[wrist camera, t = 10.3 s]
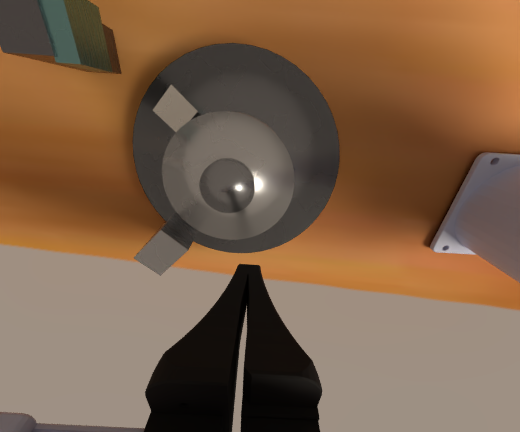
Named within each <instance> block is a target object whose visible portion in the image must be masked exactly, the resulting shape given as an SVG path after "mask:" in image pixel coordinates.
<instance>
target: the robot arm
mask: <svg viewBox="0 0 520 432" xmlns="http://www.w3.org/2000/svg"><path fill="white" fill-rule="evenodd" d="M492 159H493V161H492ZM491 161H492V162H491ZM430 248H431V249H432V250H433V251H434V252H440V253H459V254H477V255H478V256H480V257H481V258H483V259H485V260H486V261H488V262H489V263H491V264H492V265H494V266H495V267H497V268H498V269H500V270H501V271H503V272H504V273H506V274H507V275H509V276H510V277H512V278H513V279H515V280H516V281H518V282H519V283H520V154H506V153H490V152H485V153H482V154H480V155H479V156H478V157H477V158H476V159H475V161H474V163H473V165H472V167H471V169H470V171H469V173H468V174H467V176H466V178H465V180H464V182H463V184H462V186H461V188H460V190H459V192H458V194H457V195H456V197H455V199H454V201H453V203H452V205H451V207H450V209H449V211H448V213H447V215H446V216H445V218H444V220H443V222H442V224H441V226H440V228H439V230H438V232H437V234H436V236H435V238H434V239H433V241H432V243H431V245H430ZM246 306H247V338H246V349H245V361H244V377H243V379H244V380H243V398H242V411H241V432H320V429H319V423H318V420H319V413H318V408H317V406H318V403H319V400H320V398H321V395H322V387H321V383H320V380H319V377H318V374H317V371H316V369H315V366H314V364H313V361H312V360H311V359H310V357H309V356H308V355H307V354H306V353H305V352H304V350H303V349H302V348H301V347H300V345H299V344H298V343H297V342H296V340H295V339H294V338H293V336H292V335H291V334H290V332H289V330H288V329H287V328H286V326H285V325H284V323H283V321H282V320H281V318H280V317H279V315H278V313H277V311H276V309H275V307H274V305H273V303H272V301H271V299H270V297H269V295H268V292H267V289H266V287H265V284H264V281H263V278H262V274H261V268H260V266H259V265H247V264H239V265H238V267H237V269H236V272H235V274H234V276H233V277H232V279H231V281H230V283H229V284H228V286H227V288H226V290H225V291H224V292H223V294H222V295H221V297H220V298H219V300H218V301H217V302H216V303H215V305H214V306H213V307H212V308H211V309H210V311H209V312H208V313H207V314H206V315H205V317H203V319H202V320H201V321H200V322H199V323H198V324H197V325H196V326H195V327H194V328H193V329H192V330H190V331H189V332H188V333H187V334H186V335H185V336H184V337H183V338H182V339H181V340H179V341H178V342H177V343H176V344H175V345H173V346H172V347H171V348H170V349H169V350H167V351H166V352H165V353H164V354H163V356H162V358H161V359H160V361H159V363H158V365H157V366H156V368H155V370H154V372H153V374H152V377H151V379H150V381H149V384H148V386H147V389H146V391H145V395H146V398H147V401H148V403H149V406H150V408H151V413H150V416H149V419H148V422H147V424H146V427H145V429H144V428H124V427H103V426H81V425H61V424H41V423H36V420H35V419H34V418H33V417H32V416H30V415H28V414H23V413H8V412H0V432H232V424H233V412H234V400H235V390H236V379H237V367H238V358H239V347H240V340H241V334H242V328H243V323H244V317H245V312H246Z"/></svg>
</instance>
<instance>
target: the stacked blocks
mask: <svg viewBox="0 0 520 432" xmlns="http://www.w3.org/2000/svg"><path fill="white" fill-rule="evenodd" d="M0 46H1V49H2V51H3V52H4V53H8V54H13V55H17V56H21V57H26V58H30V59H34V60H39V61H43V62H48V63H52V64H56V65H61V66H65V67H69V68H74V69H78V70H82V71H87V72H101V73H115V74H121V70H120V65H119V60H118V55H117V50H116V45H115V40H114V35H113V30H112V29H110V28H108V27H106V26H105V25H103V24H102V22H101V17H100V13H99V8H98V7H97V6H96V5H94V4H93V3H91V2H90V1H88V0H0Z"/></svg>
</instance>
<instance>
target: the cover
mask: <svg viewBox="0 0 520 432" xmlns="http://www.w3.org/2000/svg"><path fill="white" fill-rule="evenodd" d="M162 179H163V185H164V189H165V192H166V194H167V197H168V199H169V201H170V203H171V205H172V206H173V208H174V209H175V211H176V212H177V213H178V214H179V216H180V217H181V218H182V219H183V220H184V221H185V222H187V223H188V224H189V225H190V226H192V227H193V228H195V229H196V230H198V231H200V232H202V233H204V234H206V235H209V236H212V237H215V238H220V239H227V240H239V239H246V238H250V237H254V236H256V235H259V234H261V233H263V232H265V231H267V230H268V229H269V228H271V227H272V226H273V225H275V224H276V223H277V222H278V221H279V220H280V218H281V217H282V216H283V215H284V213H285V212H286V210H287V208H288V206H289V204H290V202H291V199H292V196H293V191H294V181H295V178H294V169H293V164H292V161H291V158H290V155H289V153H288V151H287V149H286V147H285V145H284V144H283V142H282V141H281V140H280V138H279V137H278V135H277V134H276V133H275V132H274V130H273V129H272V128H271V127H270V126H268V125H267V124H266V123H265V122H263V121H262V120H260V119H258V118H257V117H254V116H252V115H250V114H246V113H242V112H235V111H220V112H212V113H206V114H204V115H201V116H198V117H196V118H194V119H192V120H190V121H189V122H187V123H186V124H185V125H183V126H182V127H181V128H180V129H179V130H178V131H177V132H176V133H175V134H174V136H173V137H172V139H171V140H170V142H169V144H168V146H167V148H166V151H165V154H164V157H163V163H162Z"/></svg>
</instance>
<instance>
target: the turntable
mask: <svg viewBox="0 0 520 432" xmlns="http://www.w3.org/2000/svg"><path fill="white" fill-rule="evenodd" d="M220 111H235V112H242V113H246V114H250V115H252V116H254V117H257V118H258V119H260V120H262V121H263V122H265V123H266V124H267V125H268V126H270V127H271V128H272V129H273V130H274V132H275V133H276V134H277V135H278V137H279V138H280V140H281V141H282V142H283V144H284V145H285V147H286V149H287V151H288V153H289V155H290V158H291V161H292V164H293V169H294V178H295V181H294V191H293V196H292V199H291V202H290V204H289V206H288V208H287V210H286V212H285V213H284V215H283V216H282V217H281V218H280V220H279V221H278V222H277V223H276V224H275V225H273V226H272V227H271V228H269V229H268V230H267V231H265V232H263V233H261V234H259V235H256V236H254V237H250V238H246V239H239V240H227V239H220V238H215V237H212V236H209V235H206V234H204V233H202V232H200V231H198V230H196V229H195V228H193V227H192V226H190V225H189V224H188V223H187V222H185V221H184V220H183V219H182V218H181V217H180V216H179V214H178V213H177V212H176V211H175V209H174V208H173V206H172V205H171V203H170V201H169V199H168V197H167V194H166V192H165V189H164V185H163V179H162V163H163V157H164V154H165V151H166V148H167V146H168V144H169V142H170V140H171V139H172V137H173V136H174V134H175V133H176V132H177V131H178V130H179V129H180V128H181V127H182V126H183V125H185V124H186V123H187V122H189V121H190V120H192V119H194V118H196V117H198V116H201V115H204V114H206V113H212V112H220ZM133 156H134V161H135V166H136V171H137V174H138V177H139V180H140V183H141V185H142V187H143V189H144V192H145V194H146V195H147V197H148V199H149V200H150V202H151V204H152V205H153V207H154V208H155V209H156V210H157V212H158V213H159V214H160V215H161V217H162V218H163V219H164V220H165V221H166V222H165V223H164V224H163V225H162V226H161V227H160V228H159V229H158V231H157V232H156V233H155V234H154V235H153V236H152V237H151V239H150V240H149V241H148V242H147V243H146V244H145V245H144V247H143V248H142V249H141V250H140V251H139V252H138V253H137V255H136V256H135V257H134V259H136V260H137V261H139V262H140V263H142V264H143V265H145V266H147V267H148V268H150V269H151V270H153V271H154V272H156V273H157V274H159V275H162V274H163V273H164V272H165V271H166V270H167V269H168V268H169V267H170V266H171V265H172V264H174V263H175V262H176V261H177V260H178V259H179V258H180V257H181V256H182V255H183V254H184V253H186V252H187V251H188V249H189V248H190V246H191V244H192V242H193V241H194V242H196V243H198V244H201V245H203V246H205V247H208V248H212V249H215V250H219V251H224V252H232V253H252V252H259V251H264V250H268V249H272V248H274V247H277V246H280V245H282V244H284V243H286V242H288V241H290V240H292V239H293V238H295V237H296V236H298V235H299V234H301V233H302V232H303V231H304V230H305V229H307V228H308V227H309V226H310V225H311V224H312V223H313V222H314V221H315V219H316V218H317V217H318V216H319V214H320V213H321V212H322V210H323V209H324V207H325V205H326V204H327V202H328V200H329V198H330V196H331V193H332V191H333V189H334V186H335V182H336V178H337V174H338V168H339V140H338V132H337V129H336V125H335V121H334V118H333V115H332V113H331V111H330V108H329V106H328V104H327V102H326V100H325V99H324V97H323V95H322V94H321V92H320V90H319V89H318V88H317V87H316V85H315V84H314V83H313V82H312V81H311V79H310V78H309V77H308V76H307V75H306V74H305V73H304V72H302V71H301V70H300V69H299V68H298V67H297V66H296V65H294V64H293V63H291V62H290V61H288V60H286V59H285V58H283V57H282V56H280V55H278V54H275V53H273V52H271V51H269V50H267V49H263V48H259V47H256V46H252V45H246V44H237V43H227V44H215V45H210V46H206V47H202V48H199V49H196V50H194V51H192V52H189V53H187V54H185V55H183V56H181V57H180V58H178V59H177V60H175V61H174V62H172V63H171V64H170V65H168V66H167V67H166V68H165V69H164V70H163V71H162V72H161V73H160V74H159V75H158V76H157V77H156V79H155V80H154V81H153V82H152V84H151V85H150V86H149V88H148V90H147V92H146V93H145V95H144V97H143V99H142V101H141V104H140V106H139V109H138V112H137V115H136V120H135V124H134V131H133Z"/></svg>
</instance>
